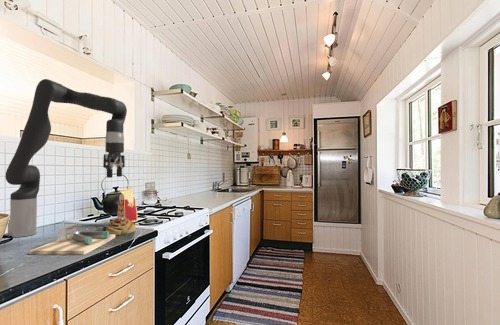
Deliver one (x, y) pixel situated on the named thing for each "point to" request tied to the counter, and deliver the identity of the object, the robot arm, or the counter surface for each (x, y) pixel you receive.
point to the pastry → (121, 226)
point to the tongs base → (93, 234)
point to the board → (71, 246)
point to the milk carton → (127, 205)
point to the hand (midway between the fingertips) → (114, 177)
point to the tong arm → (82, 238)
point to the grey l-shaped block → (63, 231)
